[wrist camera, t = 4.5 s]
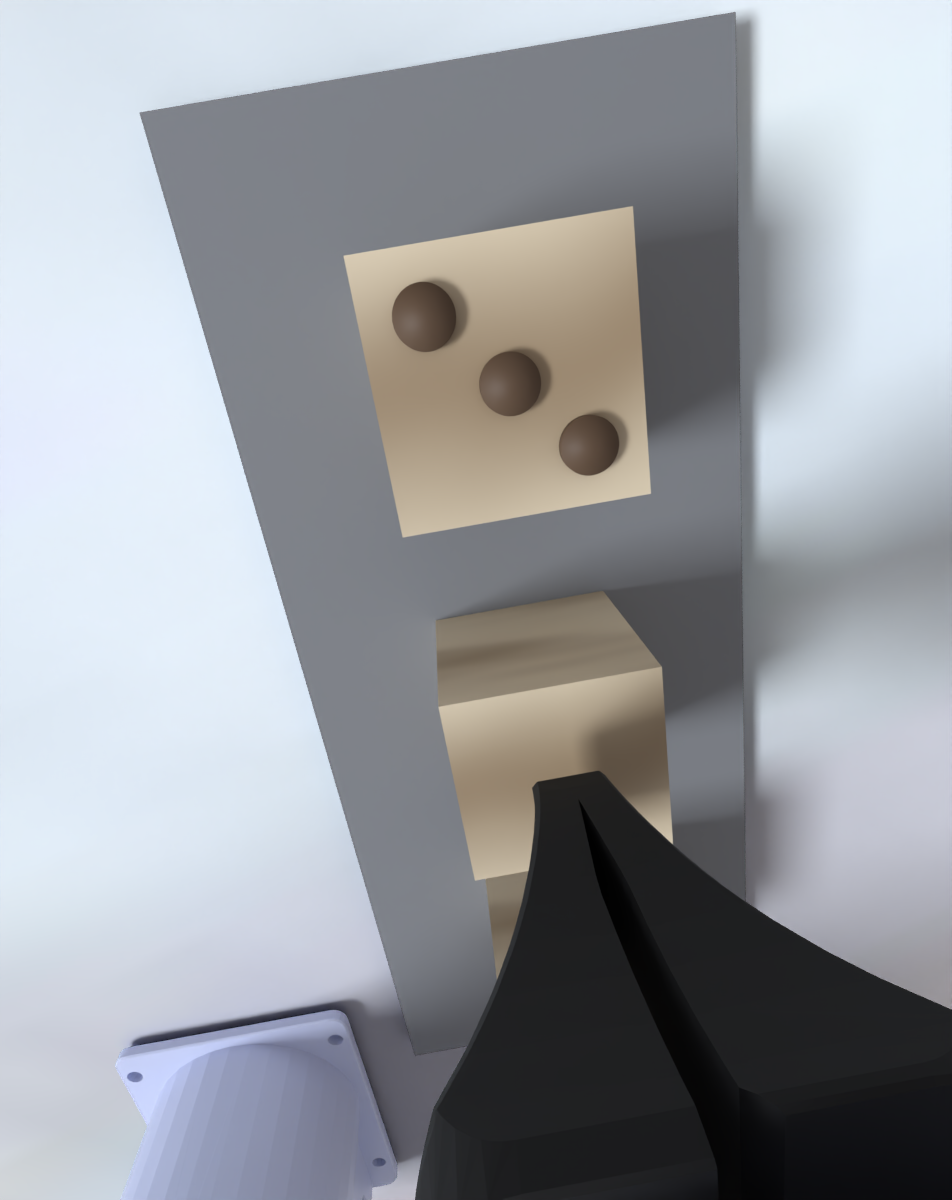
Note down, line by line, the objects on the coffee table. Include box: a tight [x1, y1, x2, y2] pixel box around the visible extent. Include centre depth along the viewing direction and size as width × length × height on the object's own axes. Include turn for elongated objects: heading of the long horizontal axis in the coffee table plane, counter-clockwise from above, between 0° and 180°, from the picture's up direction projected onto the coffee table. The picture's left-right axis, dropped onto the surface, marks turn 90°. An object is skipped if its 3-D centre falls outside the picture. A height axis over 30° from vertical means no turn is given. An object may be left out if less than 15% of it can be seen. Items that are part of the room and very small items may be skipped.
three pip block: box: [344, 206, 651, 537], centre depth 12 cm, size 4×4×5 cm
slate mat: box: [140, 12, 746, 1056], centre depth 18 cm, size 28×12×1 cm, turn 9°
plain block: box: [436, 591, 673, 881], centre depth 15 cm, size 4×4×4 cm
